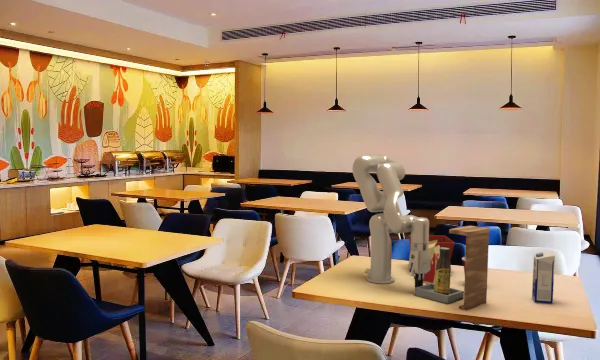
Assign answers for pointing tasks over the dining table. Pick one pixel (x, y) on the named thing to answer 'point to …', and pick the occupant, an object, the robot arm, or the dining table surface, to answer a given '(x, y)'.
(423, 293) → the tray
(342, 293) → the dining table surface
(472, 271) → the wooden c-shaped stand
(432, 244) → the milk carton
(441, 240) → the plant pot
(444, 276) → the sauce bottle
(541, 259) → the milk carton
